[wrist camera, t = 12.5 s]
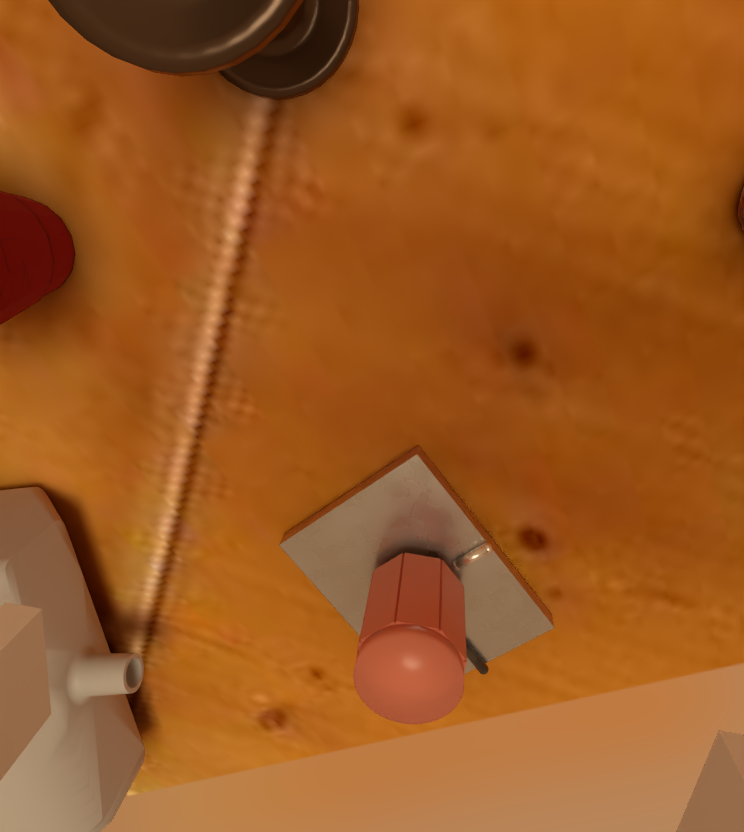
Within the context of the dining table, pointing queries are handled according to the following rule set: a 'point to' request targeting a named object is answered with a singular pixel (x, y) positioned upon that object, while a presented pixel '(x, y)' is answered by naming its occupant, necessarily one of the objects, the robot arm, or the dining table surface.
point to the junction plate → (422, 535)
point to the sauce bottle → (741, 210)
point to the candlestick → (224, 38)
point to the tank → (66, 683)
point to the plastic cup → (30, 253)
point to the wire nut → (412, 641)
